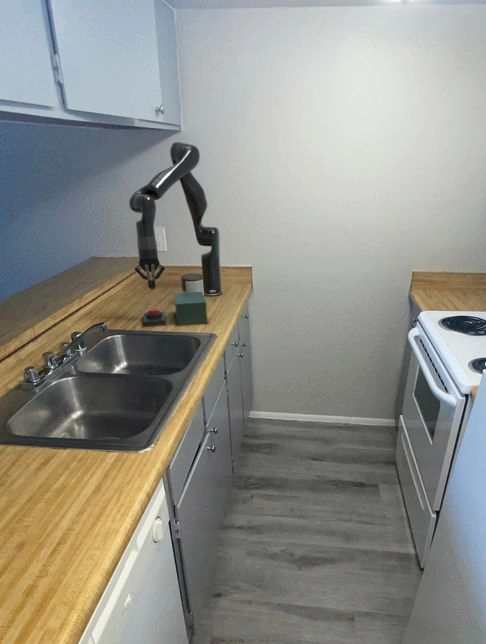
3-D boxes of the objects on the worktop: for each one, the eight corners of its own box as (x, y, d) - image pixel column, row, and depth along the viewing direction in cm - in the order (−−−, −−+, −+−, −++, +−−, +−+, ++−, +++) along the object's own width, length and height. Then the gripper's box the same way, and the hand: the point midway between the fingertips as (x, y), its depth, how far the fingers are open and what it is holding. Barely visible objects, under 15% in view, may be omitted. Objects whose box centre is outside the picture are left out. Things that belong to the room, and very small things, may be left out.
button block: (144, 317, 212) (143, 309, 210) (164, 316, 214) (163, 307, 212) (144, 326, 201) (142, 317, 200) (165, 325, 203) (164, 316, 201)
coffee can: (179, 306, 227) (176, 277, 220) (192, 300, 235) (190, 272, 228) (195, 309, 222) (193, 280, 216) (209, 304, 230) (207, 275, 224)
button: (149, 312, 207) (148, 308, 206) (157, 312, 208) (157, 308, 207) (149, 315, 204) (148, 311, 203) (157, 314, 205) (157, 310, 204)
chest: (176, 314, 216) (174, 295, 212) (203, 312, 219) (202, 293, 215) (177, 325, 203) (176, 305, 199) (207, 323, 206) (205, 304, 201)
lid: (174, 295, 213) (173, 293, 212) (202, 293, 215) (202, 291, 215) (176, 305, 199) (175, 303, 198) (205, 303, 201) (205, 302, 201)
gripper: (163, 244, 197) (167, 285, 205) (130, 245, 194) (136, 287, 202) (164, 248, 191) (168, 290, 199) (130, 249, 188) (136, 292, 196)
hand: (152, 288), depth 201 cm, fingers closed
